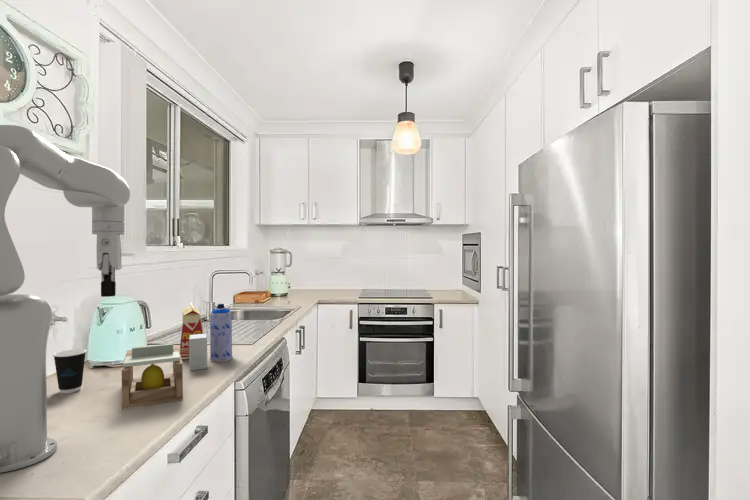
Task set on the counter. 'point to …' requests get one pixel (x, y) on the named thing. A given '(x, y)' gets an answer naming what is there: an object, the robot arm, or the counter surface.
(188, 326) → the milk carton
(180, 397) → the walnut box
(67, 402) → the counter surface
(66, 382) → the dixie cup
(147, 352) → the lid
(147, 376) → the lemon
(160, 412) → the counter surface
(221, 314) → the aerosol can
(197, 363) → the small box
